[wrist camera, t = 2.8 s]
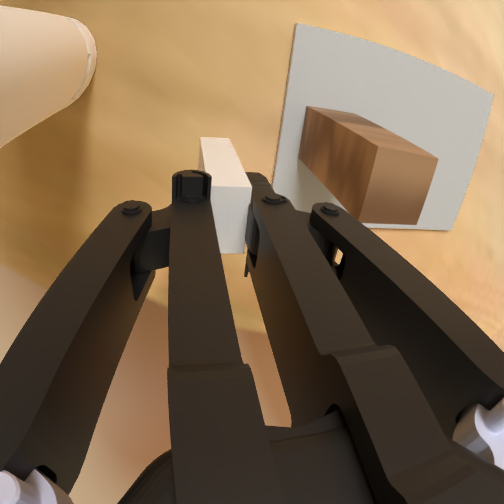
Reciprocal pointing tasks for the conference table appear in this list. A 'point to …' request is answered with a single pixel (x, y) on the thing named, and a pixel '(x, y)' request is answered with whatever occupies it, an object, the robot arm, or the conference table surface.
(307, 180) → the felt mat
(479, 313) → the conference table surface
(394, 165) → the walnut block
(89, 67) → the bottle
